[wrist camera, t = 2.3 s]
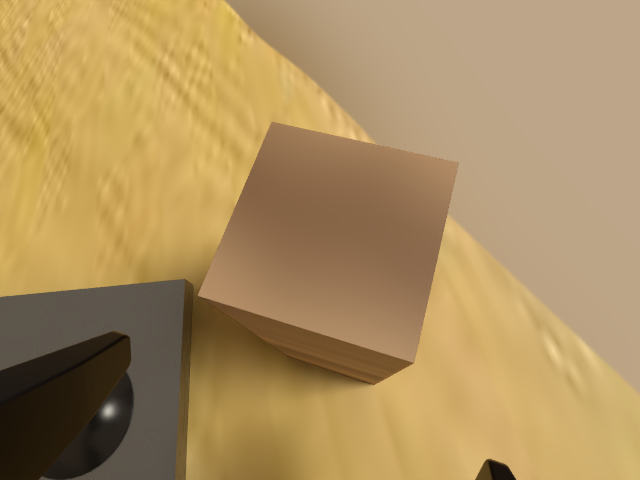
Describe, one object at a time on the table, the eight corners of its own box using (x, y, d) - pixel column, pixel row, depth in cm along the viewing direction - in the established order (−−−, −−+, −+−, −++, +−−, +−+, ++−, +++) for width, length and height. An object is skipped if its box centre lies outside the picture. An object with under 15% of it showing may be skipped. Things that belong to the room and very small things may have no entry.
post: (374, 384, 20) (414, 362, 7) (288, 356, 20) (197, 295, 8) (396, 297, 21) (458, 162, 9) (315, 274, 22) (271, 121, 10)
